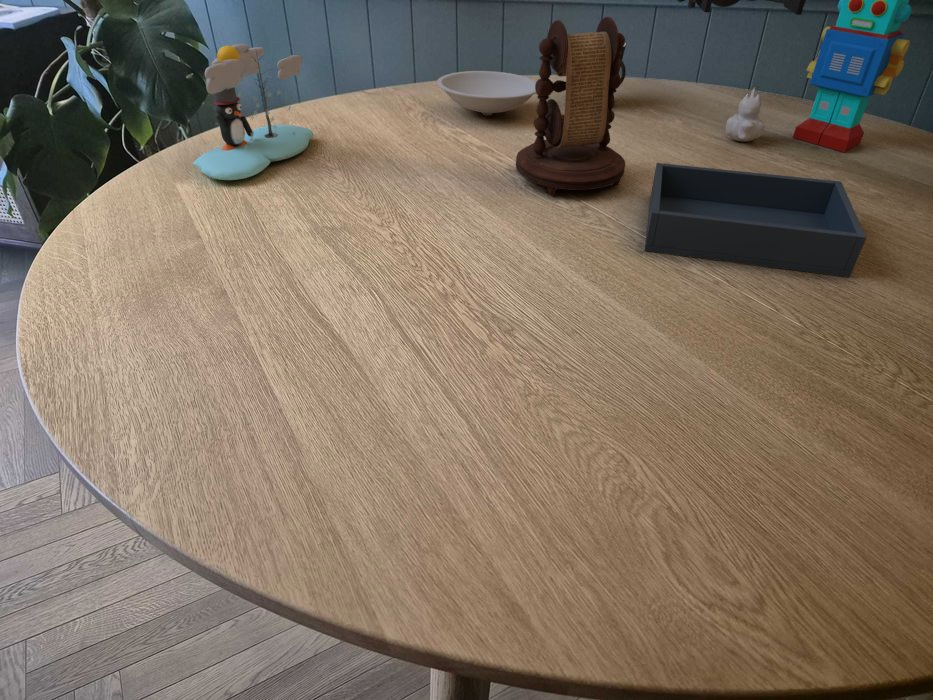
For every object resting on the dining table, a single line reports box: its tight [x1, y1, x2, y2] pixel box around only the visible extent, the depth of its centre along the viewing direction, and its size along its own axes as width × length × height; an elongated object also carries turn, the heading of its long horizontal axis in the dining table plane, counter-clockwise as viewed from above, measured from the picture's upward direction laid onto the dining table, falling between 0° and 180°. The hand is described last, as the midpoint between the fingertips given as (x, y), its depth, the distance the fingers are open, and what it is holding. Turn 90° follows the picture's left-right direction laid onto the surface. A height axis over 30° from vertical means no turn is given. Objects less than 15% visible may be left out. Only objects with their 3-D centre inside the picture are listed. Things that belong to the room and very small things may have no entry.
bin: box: [644, 162, 867, 278], centre depth 77 cm, size 22×15×5 cm
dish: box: [436, 70, 537, 116], centre depth 111 cm, size 18×14×5 cm
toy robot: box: [792, 0, 912, 153], centre depth 95 cm, size 12×6×25 cm, turn 42°
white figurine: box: [725, 86, 765, 143], centre depth 100 cm, size 5×7×8 cm
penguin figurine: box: [192, 43, 314, 181], centre depth 91 cm, size 20×11×15 cm, turn 152°
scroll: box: [515, 16, 626, 197], centre depth 85 cm, size 15×15×20 cm
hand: (755, 3), depth 99 cm, fingers open, 13 cm apart
